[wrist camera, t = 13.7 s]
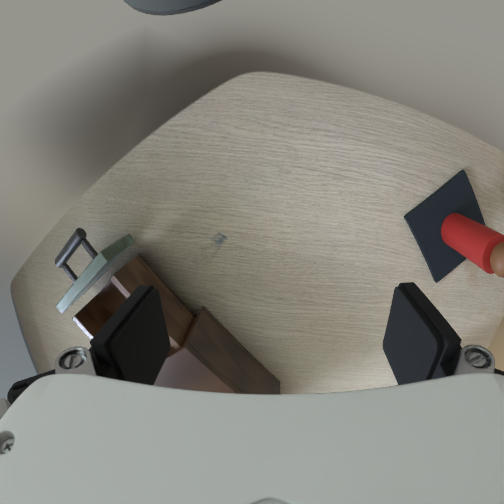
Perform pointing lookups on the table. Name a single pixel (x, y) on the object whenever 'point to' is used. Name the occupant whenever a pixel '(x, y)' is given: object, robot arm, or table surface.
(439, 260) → the coaster
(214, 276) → the table surface
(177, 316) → the drawer
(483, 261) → the red cylinder
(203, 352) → the cabinet
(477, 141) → the table surface
